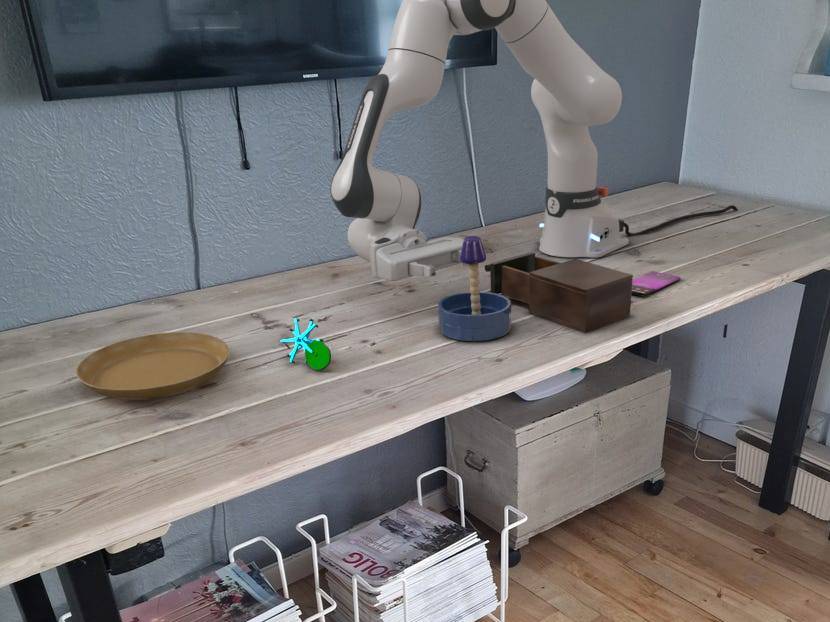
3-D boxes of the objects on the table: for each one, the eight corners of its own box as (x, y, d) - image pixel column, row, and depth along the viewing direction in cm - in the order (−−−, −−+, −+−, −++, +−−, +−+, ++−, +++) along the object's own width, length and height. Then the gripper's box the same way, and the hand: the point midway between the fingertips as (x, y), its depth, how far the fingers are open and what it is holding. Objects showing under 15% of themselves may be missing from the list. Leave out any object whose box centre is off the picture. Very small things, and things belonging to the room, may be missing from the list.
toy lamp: (467, 333, 159) (465, 242, 151) (458, 325, 163) (455, 235, 155) (492, 329, 161) (491, 238, 152) (481, 321, 165) (480, 232, 156)
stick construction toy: (270, 345, 151) (294, 307, 149) (297, 355, 157) (320, 319, 155) (310, 382, 145) (335, 343, 144) (336, 391, 151) (361, 354, 150)
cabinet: (528, 313, 169) (529, 272, 165) (573, 298, 176) (575, 258, 172) (584, 333, 160) (586, 289, 156) (629, 316, 167) (633, 274, 163)
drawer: (476, 289, 179) (476, 258, 176) (516, 277, 186) (517, 247, 183) (537, 310, 168) (538, 278, 165) (578, 296, 174) (579, 265, 171)
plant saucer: (53, 407, 136) (47, 388, 134) (116, 348, 157) (112, 331, 155) (206, 408, 135) (202, 389, 133) (249, 349, 155) (246, 331, 154)
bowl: (478, 312, 170) (477, 287, 168) (525, 329, 162) (525, 303, 159) (424, 329, 163) (423, 303, 160) (471, 348, 154) (470, 321, 152)
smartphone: (613, 291, 179) (613, 286, 179) (651, 273, 189) (651, 269, 189) (644, 298, 175) (644, 293, 175) (681, 279, 185) (681, 275, 185)
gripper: (448, 256, 177) (494, 271, 168) (365, 278, 166) (409, 295, 157) (447, 225, 174) (494, 238, 165) (362, 245, 162) (407, 260, 153)
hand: (452, 266), depth 161 cm, fingers open, 8 cm apart
